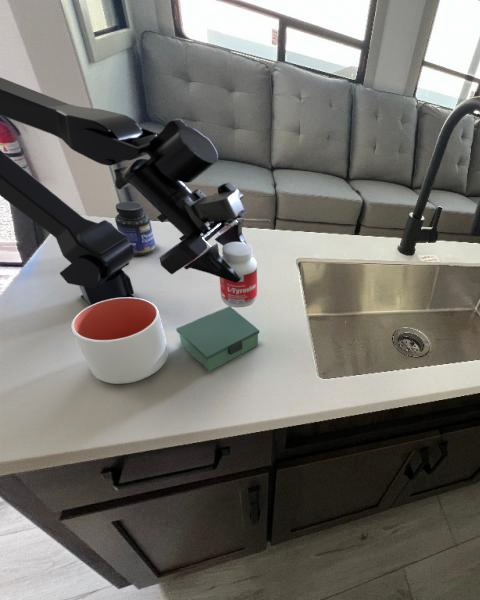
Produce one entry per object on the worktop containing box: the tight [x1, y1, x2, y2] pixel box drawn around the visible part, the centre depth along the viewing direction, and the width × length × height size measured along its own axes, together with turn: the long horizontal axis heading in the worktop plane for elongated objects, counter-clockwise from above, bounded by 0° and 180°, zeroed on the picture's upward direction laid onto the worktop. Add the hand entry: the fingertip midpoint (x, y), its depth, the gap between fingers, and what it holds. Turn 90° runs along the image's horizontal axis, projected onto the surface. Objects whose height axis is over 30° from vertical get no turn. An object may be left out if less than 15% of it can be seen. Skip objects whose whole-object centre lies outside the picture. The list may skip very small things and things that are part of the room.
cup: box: [70, 297, 169, 385], centre depth 51 cm, size 10×10×10 cm
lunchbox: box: [175, 306, 260, 372], centre depth 60 cm, size 10×10×4 cm
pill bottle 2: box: [219, 242, 258, 308], centre depth 59 cm, size 6×6×11 cm
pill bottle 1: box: [114, 200, 157, 257], centre depth 74 cm, size 6×6×11 cm
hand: (245, 271), depth 59 cm, fingers closed on pill bottle 2, 6 cm apart
